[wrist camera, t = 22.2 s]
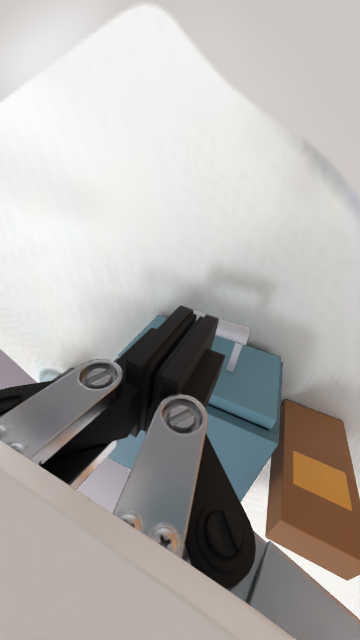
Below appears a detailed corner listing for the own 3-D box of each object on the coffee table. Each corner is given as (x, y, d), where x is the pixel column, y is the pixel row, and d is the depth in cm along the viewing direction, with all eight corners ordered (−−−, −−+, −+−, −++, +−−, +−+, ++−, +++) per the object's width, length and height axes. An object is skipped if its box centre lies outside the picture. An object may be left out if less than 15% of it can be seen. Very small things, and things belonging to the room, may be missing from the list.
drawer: (162, 277, 25) (117, 310, 18) (299, 318, 21) (302, 376, 15) (149, 395, 34) (117, 442, 28) (242, 435, 31) (229, 500, 25)
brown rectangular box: (285, 398, 27) (281, 520, 17) (343, 420, 25) (375, 568, 16) (273, 418, 29) (264, 537, 19) (327, 440, 27) (347, 581, 18)
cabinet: (156, 318, 28) (105, 369, 21) (282, 362, 25) (278, 444, 17) (147, 399, 36) (108, 458, 29) (242, 441, 33) (227, 522, 25)
